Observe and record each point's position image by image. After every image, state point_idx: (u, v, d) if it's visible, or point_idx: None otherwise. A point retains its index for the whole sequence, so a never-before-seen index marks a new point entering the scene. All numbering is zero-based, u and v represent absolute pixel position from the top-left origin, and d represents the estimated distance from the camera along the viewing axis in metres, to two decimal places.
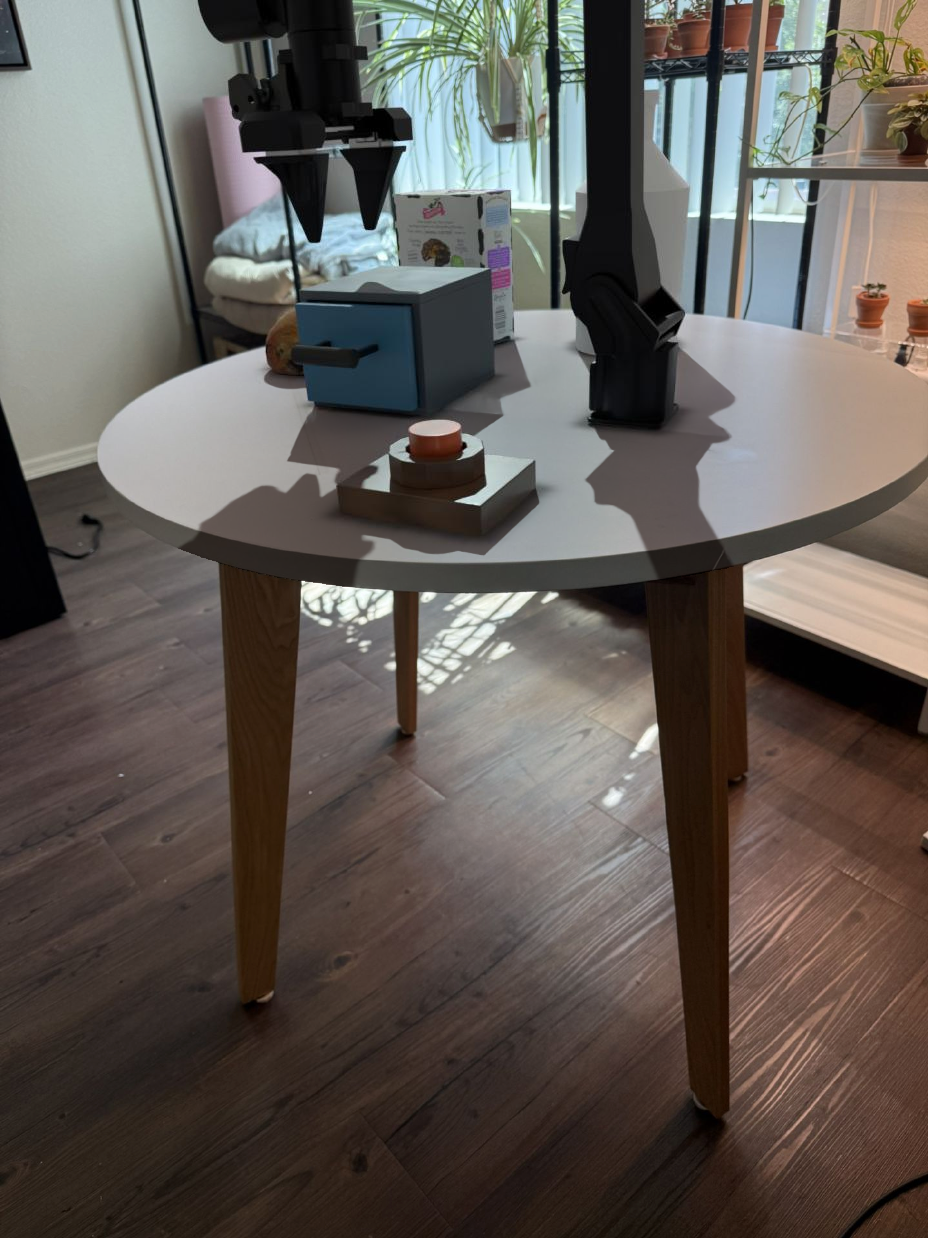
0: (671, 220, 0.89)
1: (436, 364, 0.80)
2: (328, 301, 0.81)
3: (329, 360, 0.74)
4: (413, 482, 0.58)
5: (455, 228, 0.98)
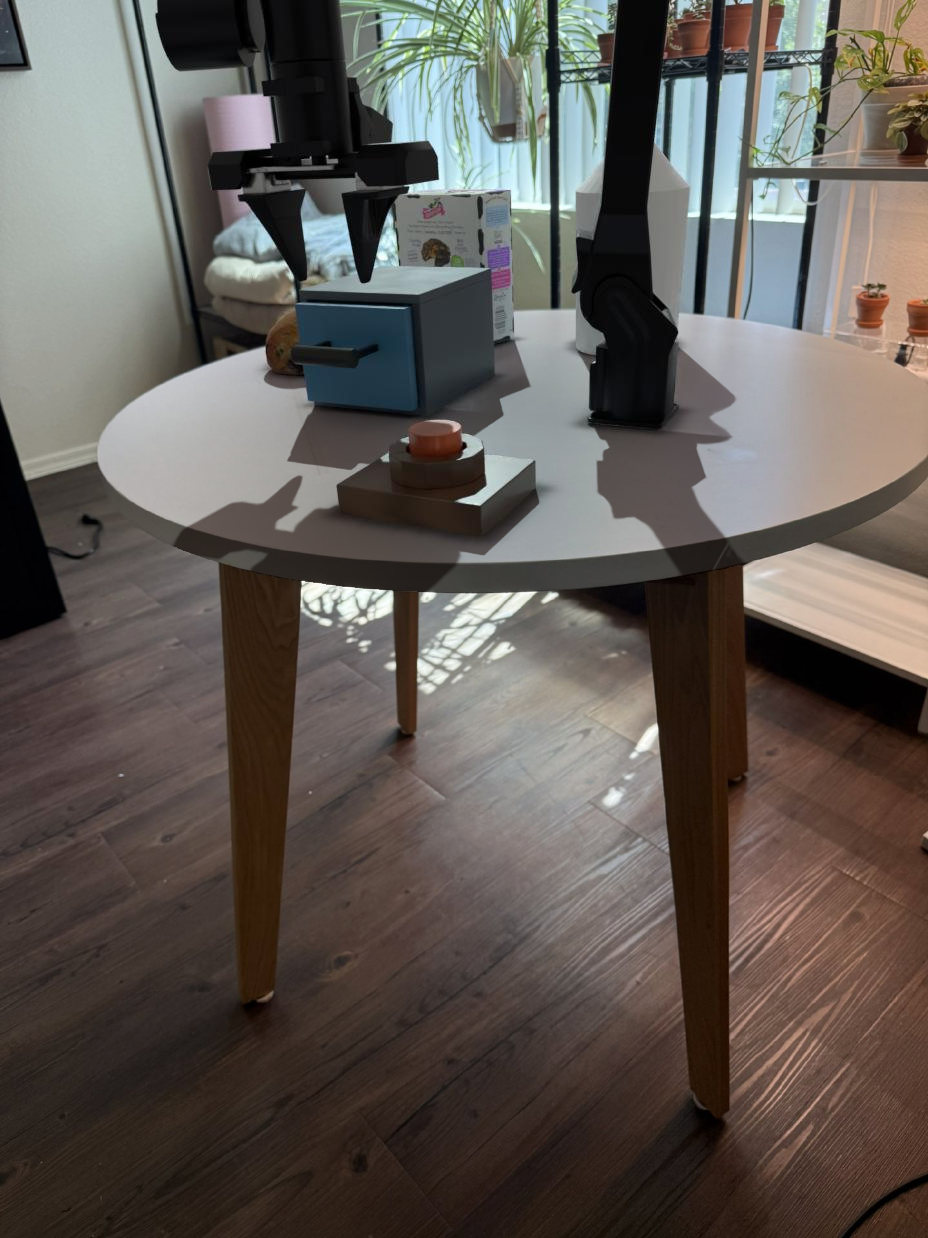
0: (671, 220, 0.89)
1: (436, 364, 0.80)
2: (328, 301, 0.81)
3: (329, 360, 0.74)
4: (413, 482, 0.58)
5: (455, 228, 0.98)
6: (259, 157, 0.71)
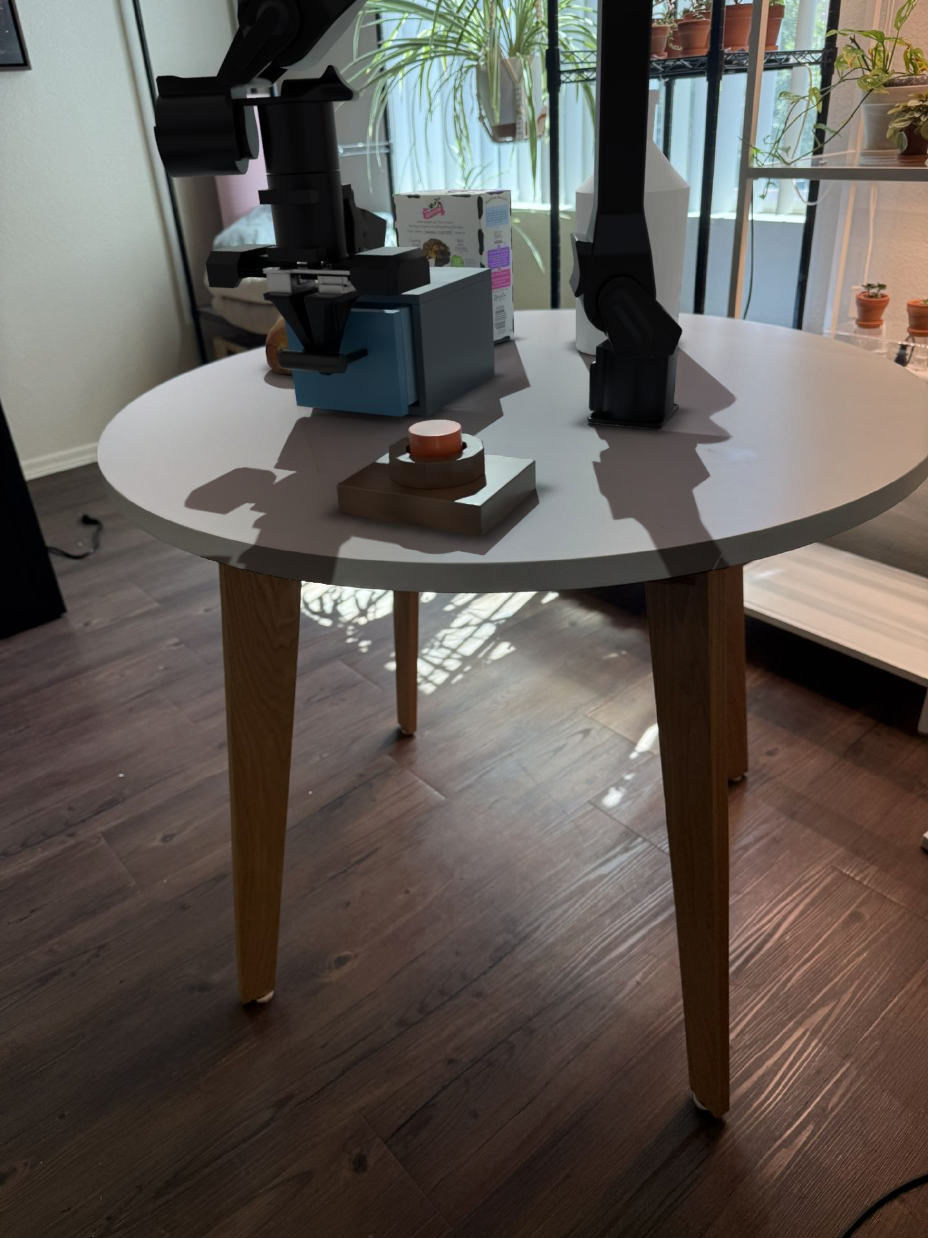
0: (671, 220, 0.89)
1: (436, 364, 0.80)
2: None
3: (317, 365, 0.72)
4: (413, 482, 0.58)
5: (455, 228, 0.98)
6: (256, 256, 0.73)
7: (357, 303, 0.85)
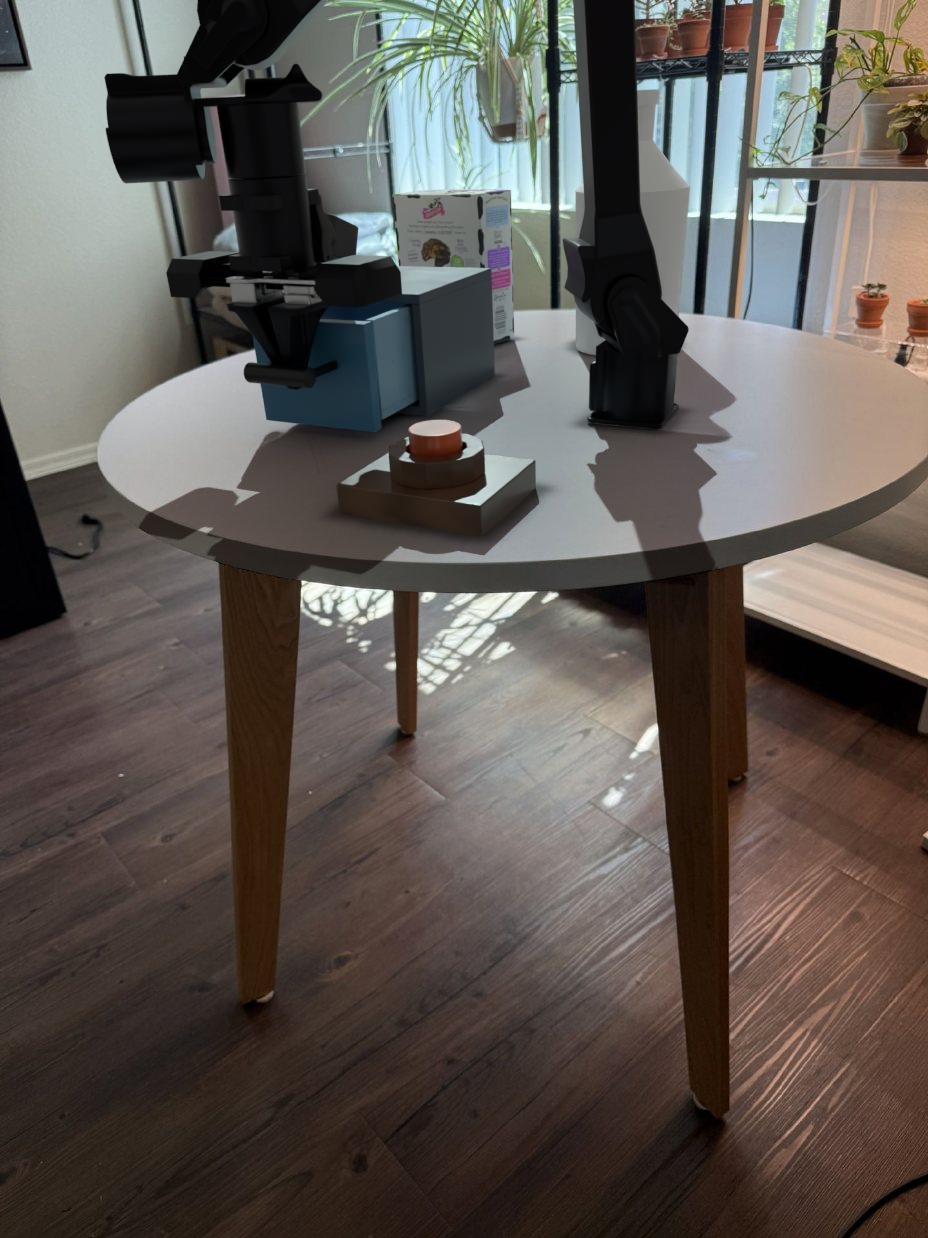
0: (671, 220, 0.89)
1: (436, 364, 0.80)
2: None
3: (283, 379, 0.69)
4: (413, 482, 0.58)
5: (455, 228, 0.98)
6: (220, 264, 0.69)
7: (330, 312, 0.81)
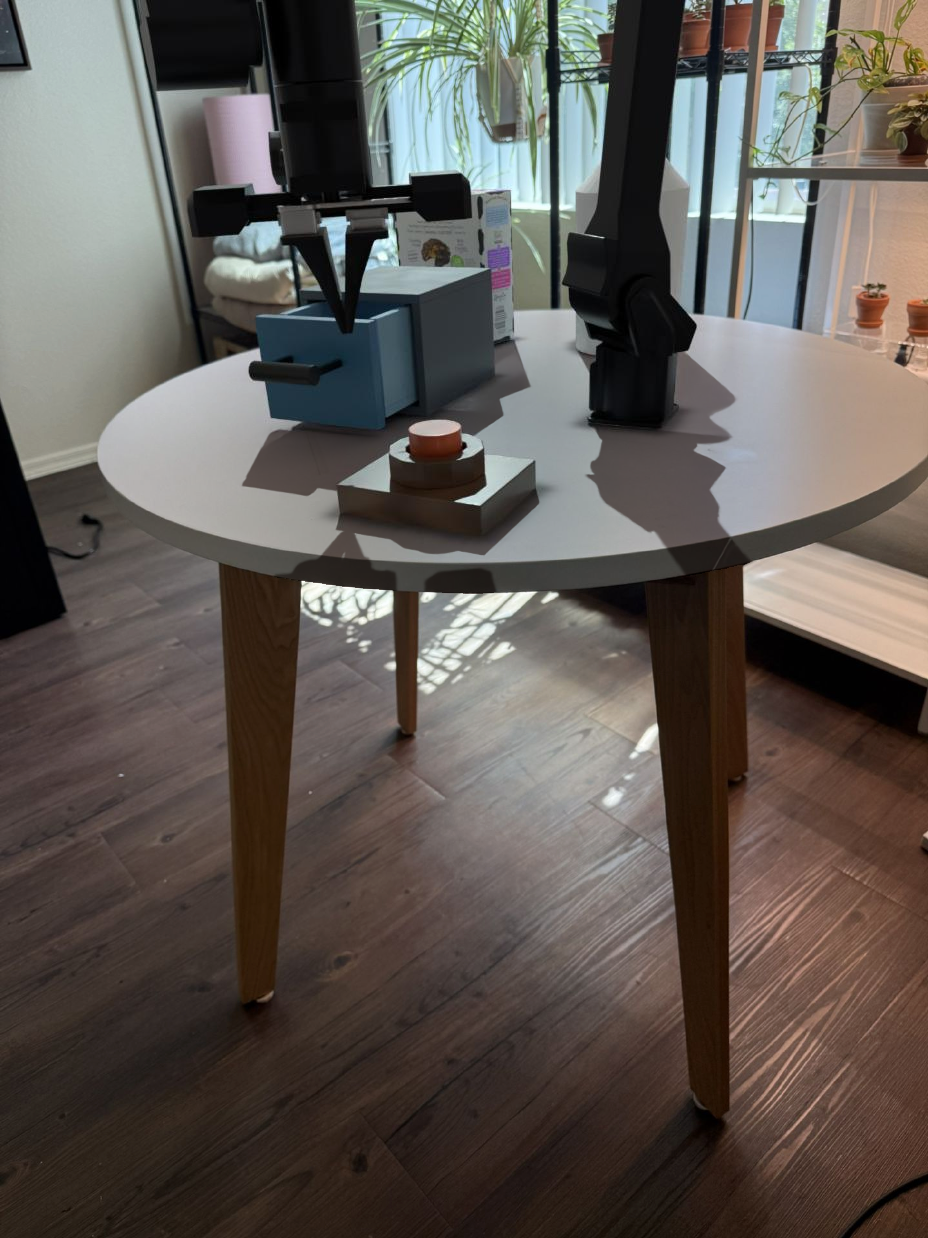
0: (671, 220, 0.89)
1: (436, 364, 0.80)
2: (291, 313, 0.76)
3: (288, 377, 0.69)
4: (413, 482, 0.58)
5: (455, 228, 0.98)
6: (249, 195, 0.59)
7: None
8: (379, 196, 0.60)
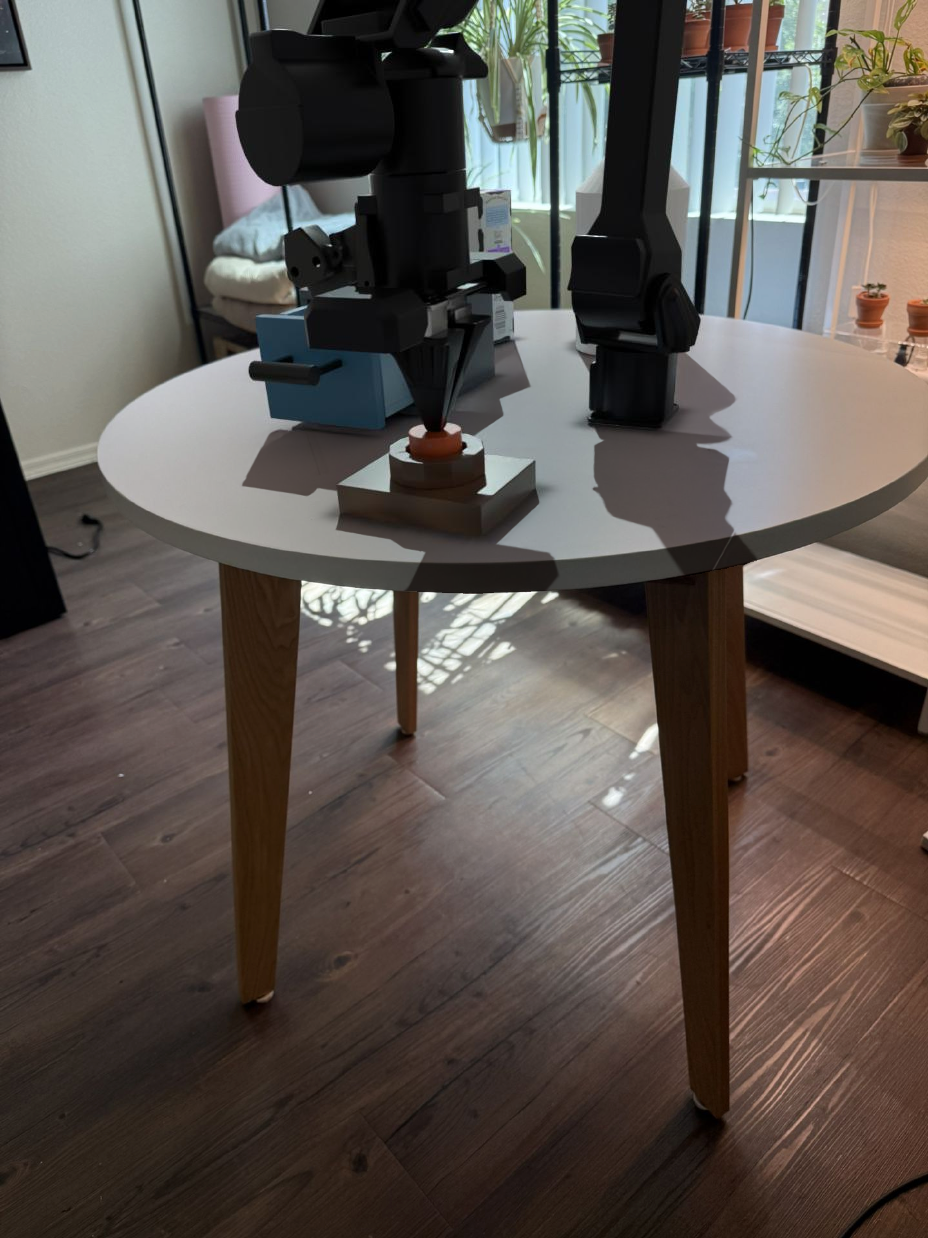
0: (671, 220, 0.89)
1: None
2: (291, 313, 0.76)
3: (288, 377, 0.69)
4: (413, 482, 0.58)
5: None
6: None
7: None
8: None
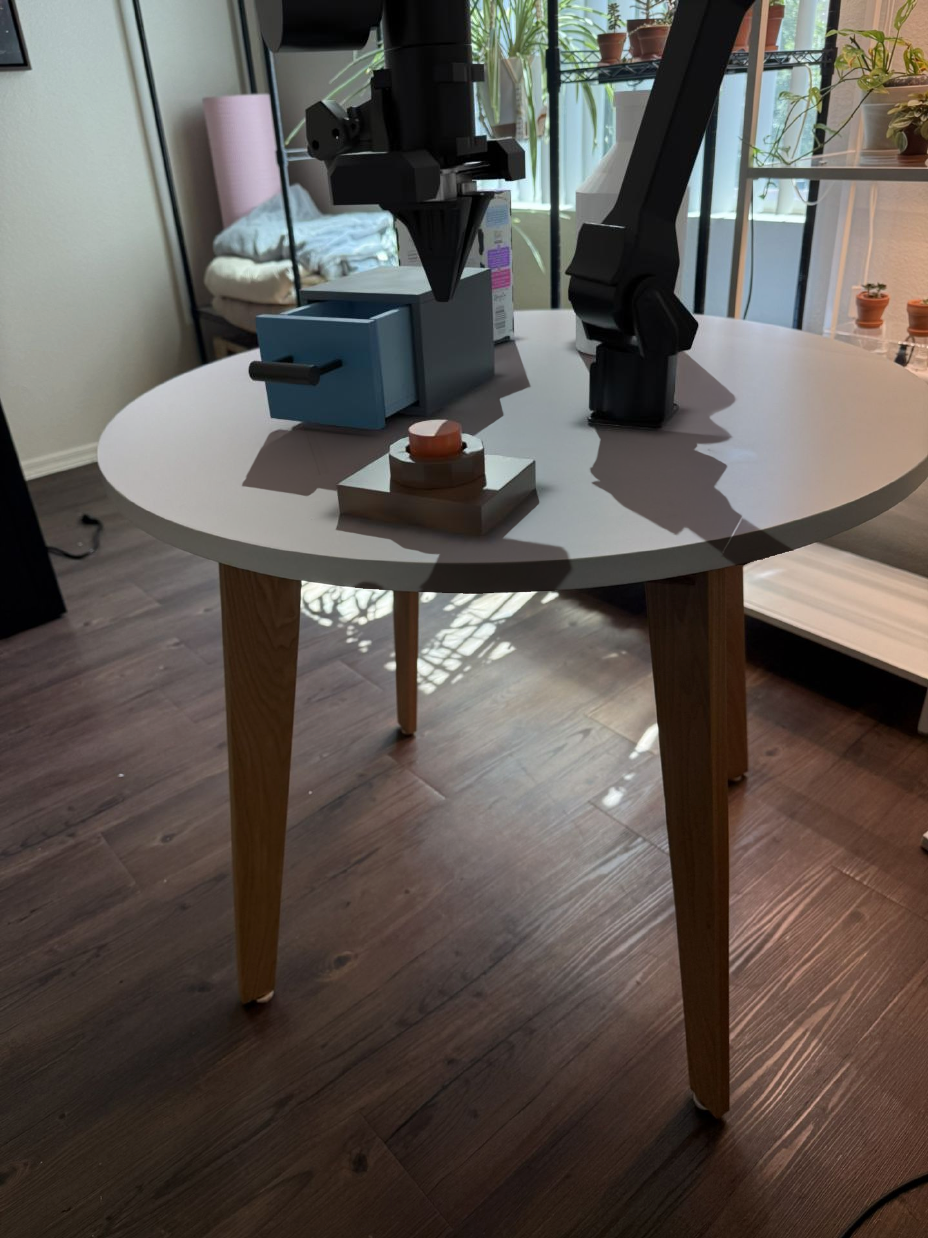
0: None
1: (436, 364, 0.80)
2: (291, 313, 0.76)
3: (288, 377, 0.69)
4: (413, 482, 0.58)
5: None
6: None
7: (334, 311, 0.82)
8: (462, 161, 0.62)
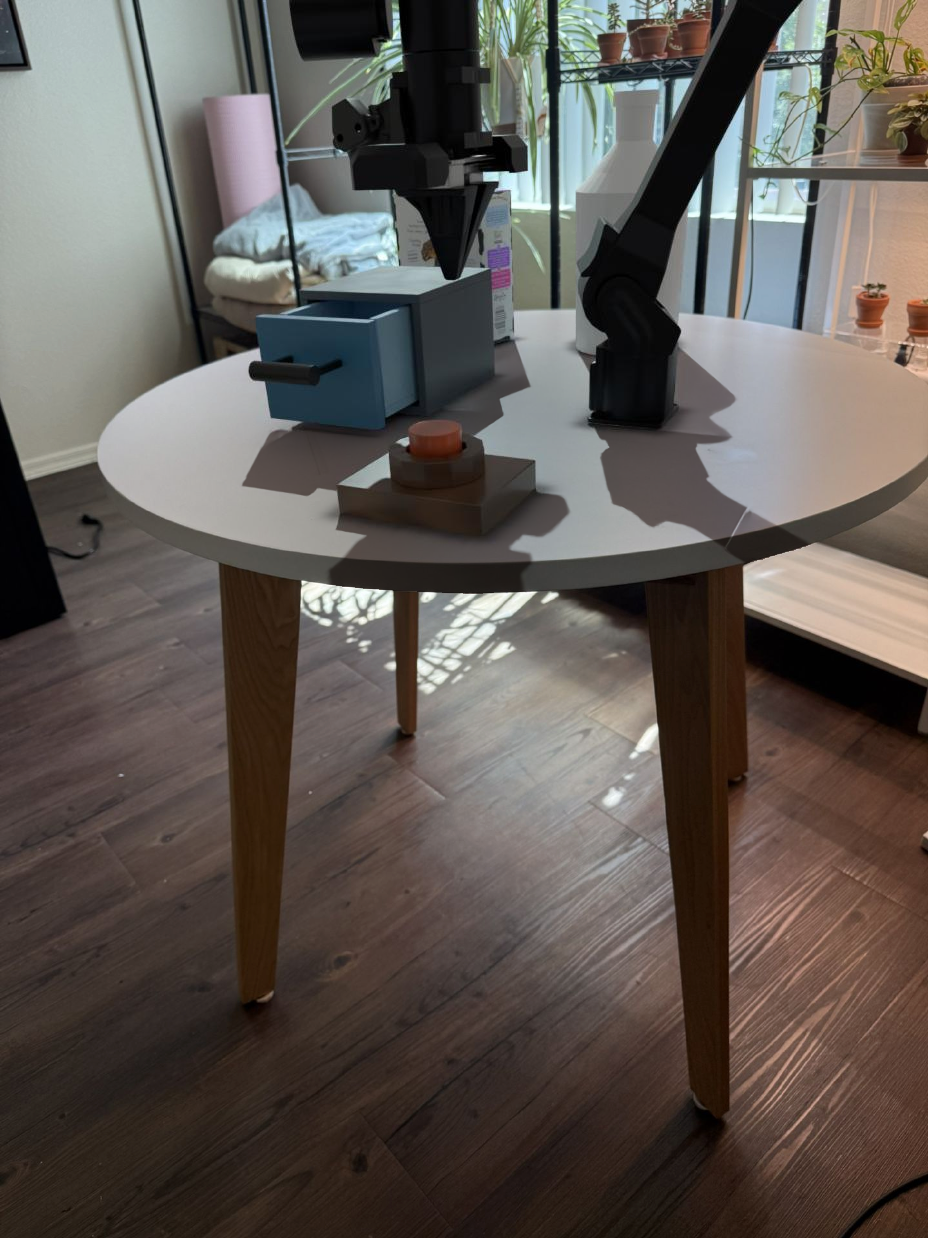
0: None
1: (436, 364, 0.80)
2: (291, 313, 0.76)
3: (288, 377, 0.69)
4: (413, 482, 0.58)
5: None
6: None
7: (334, 311, 0.82)
8: (470, 154, 0.70)
